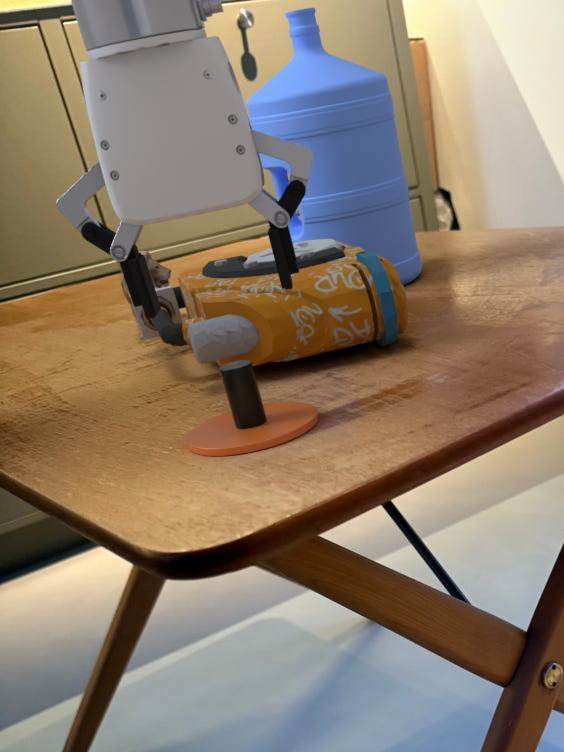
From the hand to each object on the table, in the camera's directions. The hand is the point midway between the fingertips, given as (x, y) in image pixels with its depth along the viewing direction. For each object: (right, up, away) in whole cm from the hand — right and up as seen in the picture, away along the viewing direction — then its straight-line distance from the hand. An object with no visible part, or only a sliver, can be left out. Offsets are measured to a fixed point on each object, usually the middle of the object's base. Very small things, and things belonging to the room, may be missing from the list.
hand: (221, 300), depth 74 cm
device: (-2, +5, +28) cm, 29 cm away
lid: (+1, -8, +5) cm, 10 cm away
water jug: (+4, +17, +48) cm, 51 cm away
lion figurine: (-18, +11, +45) cm, 50 cm away
